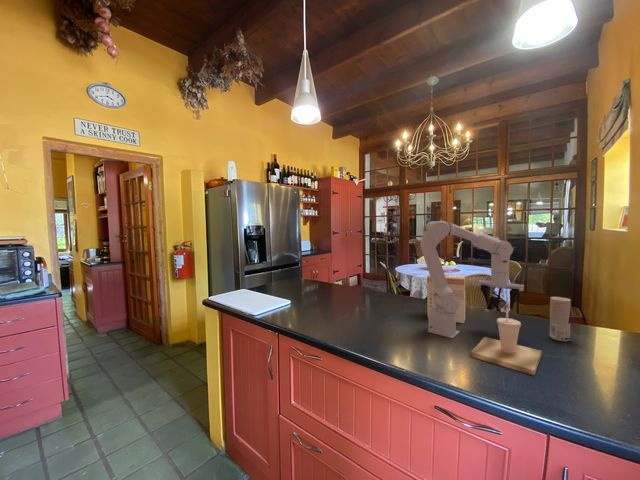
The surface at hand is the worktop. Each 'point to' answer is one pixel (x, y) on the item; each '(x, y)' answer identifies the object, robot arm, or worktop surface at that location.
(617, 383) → the worktop surface
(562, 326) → the beverage can
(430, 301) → the coffeecake box
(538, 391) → the worktop surface
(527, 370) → the base board
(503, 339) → the smoothie
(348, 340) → the worktop surface
